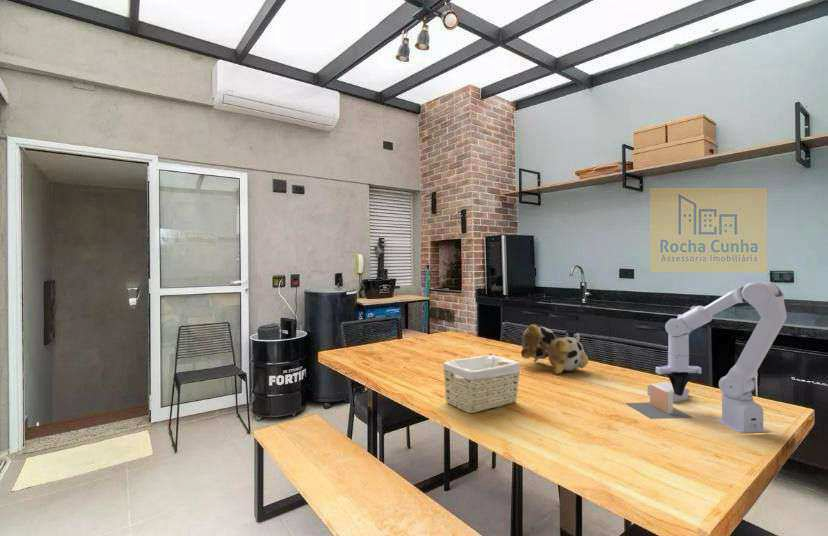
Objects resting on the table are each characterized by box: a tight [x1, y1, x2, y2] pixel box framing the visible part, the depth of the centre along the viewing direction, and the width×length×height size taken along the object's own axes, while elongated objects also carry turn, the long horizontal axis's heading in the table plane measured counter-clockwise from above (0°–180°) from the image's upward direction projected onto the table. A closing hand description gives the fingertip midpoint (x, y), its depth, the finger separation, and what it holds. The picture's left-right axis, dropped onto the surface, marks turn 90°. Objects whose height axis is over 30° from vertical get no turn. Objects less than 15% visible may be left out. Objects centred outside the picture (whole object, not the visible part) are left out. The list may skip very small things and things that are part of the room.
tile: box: [649, 383, 674, 414], centre depth 133 cm, size 9×2×7 cm, turn 3°
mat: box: [624, 401, 694, 420], centre depth 132 cm, size 14×14×1 cm
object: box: [442, 354, 521, 414], centre depth 141 cm, size 24×16×15 cm
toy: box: [520, 324, 589, 375], centre depth 187 cm, size 22×34×20 cm
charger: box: [647, 381, 691, 404], centre depth 146 cm, size 5×9×15 cm
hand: (678, 394), depth 133 cm, fingers closed
